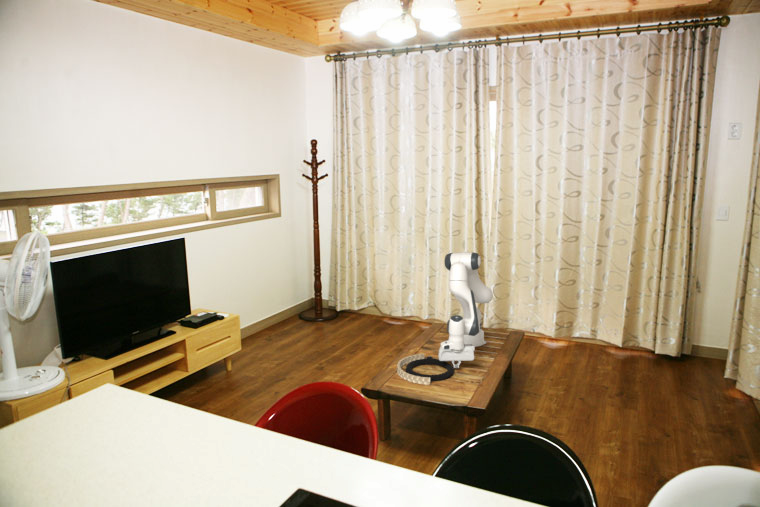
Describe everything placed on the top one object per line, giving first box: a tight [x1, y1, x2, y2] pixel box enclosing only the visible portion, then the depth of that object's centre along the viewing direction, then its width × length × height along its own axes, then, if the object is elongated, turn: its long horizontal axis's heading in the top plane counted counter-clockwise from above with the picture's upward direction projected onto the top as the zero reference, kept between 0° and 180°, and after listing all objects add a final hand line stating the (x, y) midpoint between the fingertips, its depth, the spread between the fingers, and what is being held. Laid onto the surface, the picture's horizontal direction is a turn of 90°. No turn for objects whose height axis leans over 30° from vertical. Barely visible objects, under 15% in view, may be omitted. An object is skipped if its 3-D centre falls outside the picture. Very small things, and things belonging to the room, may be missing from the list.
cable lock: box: [405, 355, 455, 382], centre depth 296 cm, size 28×4×30 cm
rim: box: [396, 353, 431, 386], centre depth 296 cm, size 37×17×4 cm, turn 0°
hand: (456, 367), depth 296 cm, fingers closed
